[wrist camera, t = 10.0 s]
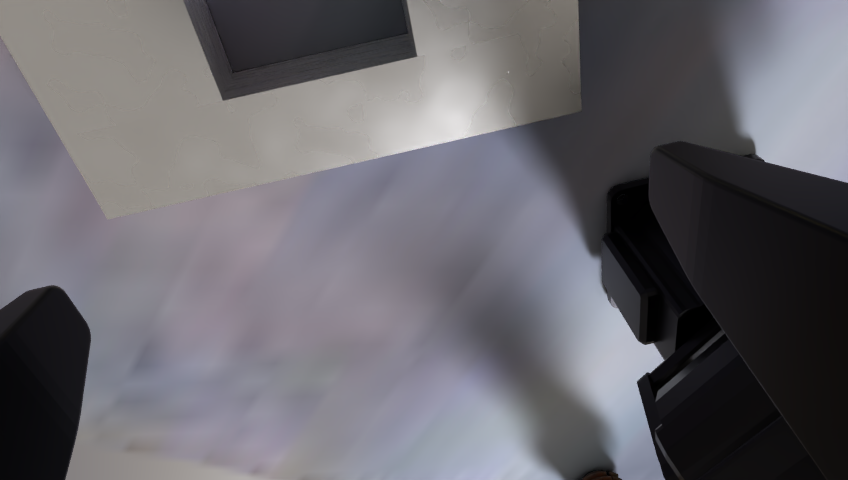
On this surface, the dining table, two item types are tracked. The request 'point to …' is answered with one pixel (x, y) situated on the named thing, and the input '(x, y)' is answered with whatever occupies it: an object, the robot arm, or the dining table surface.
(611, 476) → the bolt
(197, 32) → the square hole plate
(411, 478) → the dining table surface
